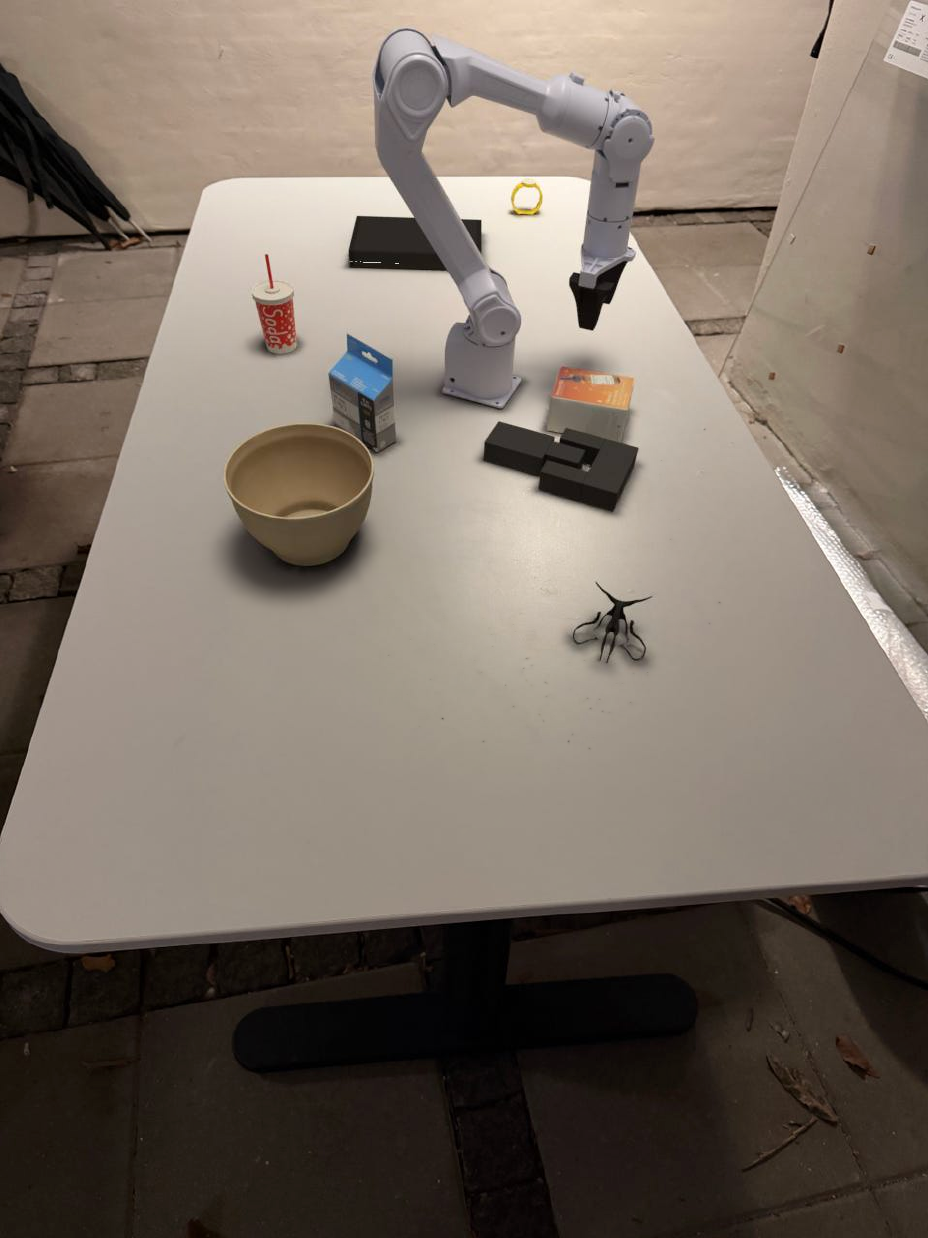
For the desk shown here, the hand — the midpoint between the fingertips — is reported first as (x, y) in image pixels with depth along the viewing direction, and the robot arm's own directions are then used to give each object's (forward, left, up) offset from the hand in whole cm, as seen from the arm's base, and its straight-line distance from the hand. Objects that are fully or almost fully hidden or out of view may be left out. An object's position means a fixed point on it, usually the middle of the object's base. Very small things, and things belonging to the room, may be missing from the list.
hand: (595, 314), depth 107 cm
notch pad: (+8, -21, -10) cm, 25 cm away
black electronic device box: (-40, +27, -11) cm, 50 cm away
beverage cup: (-45, -11, -11) cm, 48 cm away
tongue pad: (0, -21, -10) cm, 24 cm away
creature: (+18, -46, -11) cm, 51 cm away
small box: (+9, -9, -8) cm, 14 cm away
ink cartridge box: (-23, -25, -11) cm, 36 cm away
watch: (-28, +51, -11) cm, 59 cm away
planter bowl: (-19, -46, -11) cm, 51 cm away
